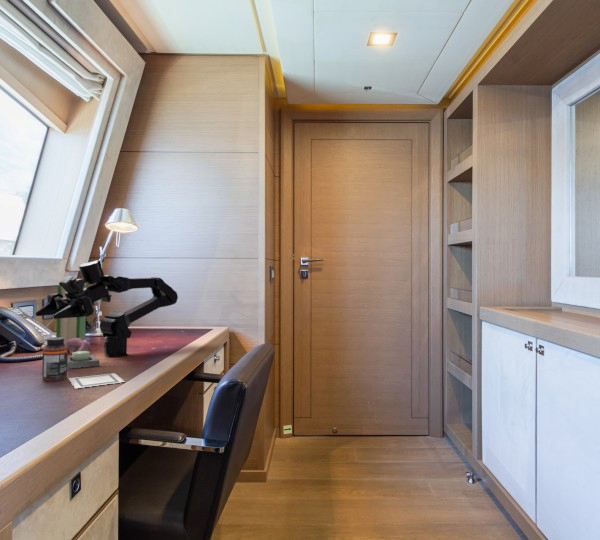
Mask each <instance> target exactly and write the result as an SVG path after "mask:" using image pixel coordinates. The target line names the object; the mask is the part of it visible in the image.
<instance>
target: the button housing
mask: <svg viewBox="0 0 600 540" xmlns="http://www.w3.org/2000/svg"><path fill="white" fill-rule="evenodd" d="M91 366H93V367H99V366H100V359H99V358H98V357H97V356H96V355H94V354H90V360H84V361H74V362H73V361H72V356H67V370H70V369H71V370H72V368H73V369H79V368H80V369H81V367H83V368H92V367H91Z"/></svg>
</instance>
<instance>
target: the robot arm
mask: <svg viewBox="0 0 600 540" xmlns="http://www.w3.org/2000/svg"><path fill="white" fill-rule="evenodd" d="M78 269H79V271H80V274H81V277H82V278H77V277H74V276H71V275H66V276H65V277H64V278H62V279H61V280H60V281H59V282H58V285H60V286H62V287H63V288H64V290H65V291H66V292H67V293H65V296H66V297H67V298H63V295H61V294H59V293H58V292H52V293H50V294H47V296H46V297H47V302H46V303H45V304H44V305H43V306H41V308H40V309H38V310H37V311H36V312H35V316H36V317H41V316H42V317H43V316H49V315H52V316H53V319H54V320H57V319H59V318H73V317H84V316H85V317H86V318H87V317H88V318H89V317H90V316H91V315H93V314H94V313H95V309H94V308H95V307H94V306H95V303H97V302H99V301H102V302H103V303H111V301H112V299H111V298H112V295H111V294H110V293H117V294H120V293H123V292H124V293H125V292H127V291H129V290H133V289H149V288H150V290H151V294H152V297H151V298H150V299H147V300H146V301H144V302H142V303H140V304H138V305H136V306H134V307H132V308H130V309H128V310H126V311H125V312H123V311H116V310H114V311H111V312H110V313H109V314H106V315H104V317H102V319H101V320H100V323H99V331H101V333H102V336H103V338H105V340H106V341H105V342H104V345H103V346H104V349H103V350H104V351H103V352H104V355H105V356H107V357H108V358H111V357H123V356H129V353H128V352H127V351H128V339H130V338H131V336H132V331H131V330H130V329H129V327H130V325H131V324H132V323H134V322H136V321H138V320H139V319H141V318H143V317H144V316H146V315H149V314H150V313H152V312H154V311H156V310H158V309H159V308H164V307H169V306H172V305H175V304H176V303H177V302H178V298H179V296H178V295H179V294H178V292H177V291H176V290H174V288H172V287H171V286H170V285H169V284H168V283H166V282H165V281H164V279H162V278H161V277H155V276H154V277H144V278H143V277H142V278H139V277H136V278H134V277H133V278H129V277H125V276H119V275H116V276H115V275H105V274H104V271H103V267H102V262H101V260H94V261H90V262H89V261H88V262H83V263H81V264H78ZM86 283H87V285H88V286H87V287H86V288H83V287H84V285H85V284H86Z"/></svg>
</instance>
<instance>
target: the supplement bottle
mask: <svg viewBox="0 0 600 540" xmlns="http://www.w3.org/2000/svg"><path fill="white" fill-rule="evenodd" d="M46 343H47V344H45V346H44V347H43V348H42V366H41V367H42V370H41V372H42V373H41V376H42V377H41V379H42V381H45V382H57V381H62V380H64V379H66V378H67V376H68V369H67V357H68V351H67V349H68V348H67V346H66V345H65V344H64V338H63V337H56V336H53V337H48V338H47V339H46Z"/></svg>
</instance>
